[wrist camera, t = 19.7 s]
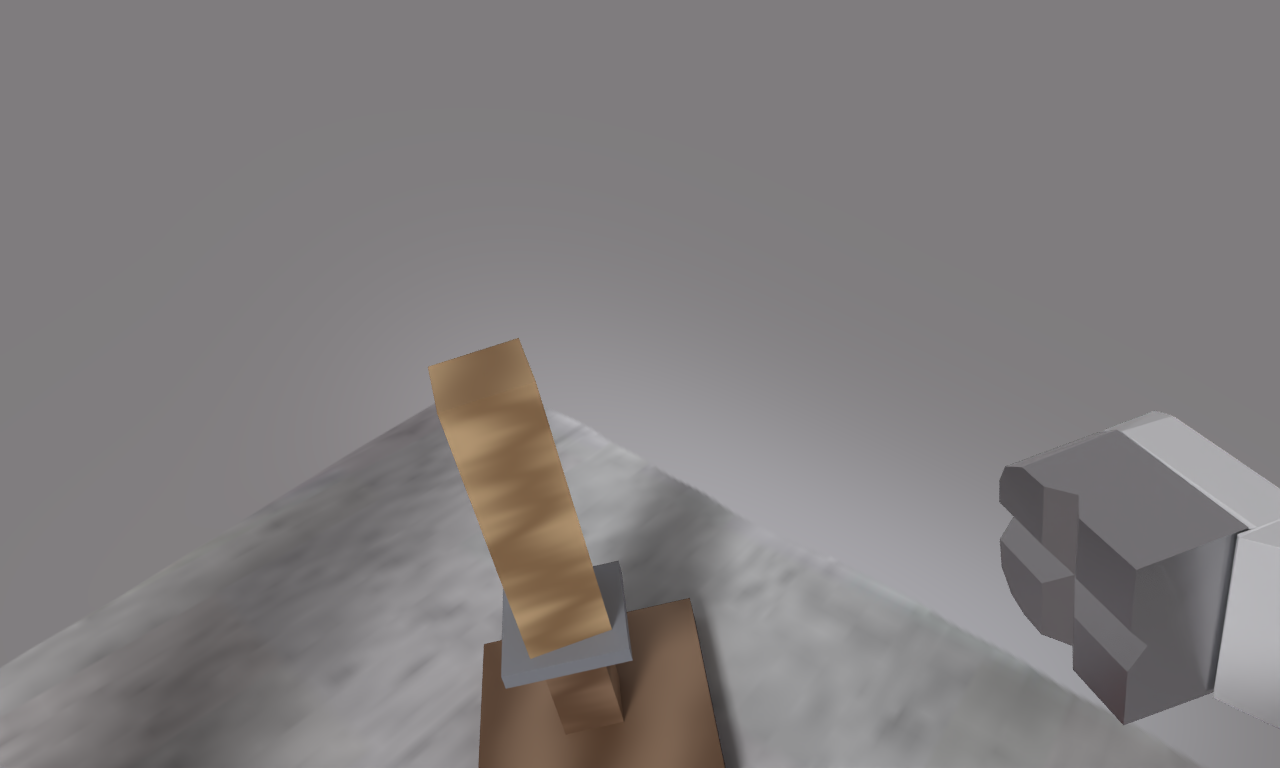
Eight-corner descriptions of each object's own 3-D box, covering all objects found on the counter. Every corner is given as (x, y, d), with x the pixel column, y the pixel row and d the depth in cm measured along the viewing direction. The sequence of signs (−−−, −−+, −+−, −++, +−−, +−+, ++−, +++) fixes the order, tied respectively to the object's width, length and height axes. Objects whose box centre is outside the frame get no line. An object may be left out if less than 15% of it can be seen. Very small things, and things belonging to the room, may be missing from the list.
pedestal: (484, 853, 47) (432, 745, 43) (491, 662, 57) (449, 560, 53) (731, 798, 47) (703, 685, 42) (694, 616, 57) (668, 510, 53)
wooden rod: (530, 659, 46) (437, 413, 38) (515, 602, 49) (428, 366, 42) (612, 629, 46) (535, 381, 39) (592, 575, 50) (518, 337, 42)
